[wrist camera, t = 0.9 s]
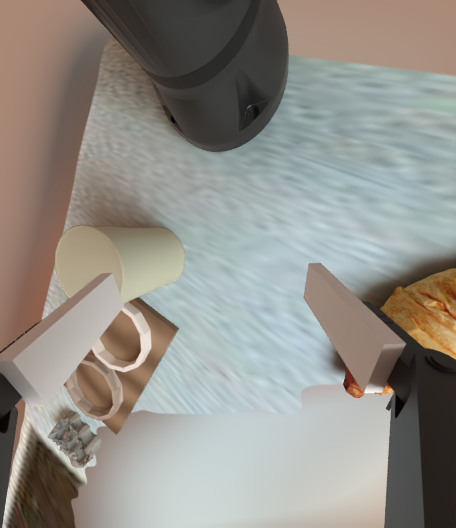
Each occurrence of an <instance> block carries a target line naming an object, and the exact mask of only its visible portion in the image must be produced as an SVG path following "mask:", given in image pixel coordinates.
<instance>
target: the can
mask: <svg viewBox="0 0 456 528" xmlns="http://www.w3.org/2000/svg"><path fill="white" fill-rule="evenodd" d="M184 266H185V253H184V249H183V246H182V244H181V242H180V240H179V239H178V238H177V236H176V235H175V234H173V233H172V232H171V231H169V230H167V229H165V228H161V227H152V228H131V227H103V226H89V225H77V226H74V227H72V228H70V229H68V230H67V231H66V232H65V233H64V234H63V235H62V236H61V238H60V240H59V242H58V244H57V248H56V253H55V268H56V273H57V277H58V280H59V283H60V285H61V287H62V289H63V291H64V292H65V294H66V295H67V297H68V298H69V299H70V298H71V297H72V296H74V295H75V294H76V293H77V292H79V291H80V290H81V289H82V288H84V287H85V286H86V285H87V284H89V283H90V282H91V281H92V280H94V279H95V278H96V277H97V276H99V275H100V274H101V273H113V275H114V278H115V281H116V284H117V287H118V290H119V292H120V295H121V298H122V301H123V304H124V303H126V302H128V301H130V300H133V299H135V298H137V297H139V296H141V295H144V294H146V293H148V292H150V291H153V290H155V289H157V288H160V287H162V286H165V285H169V284H171V283H173V282H175V281H176V280H177V279H178V278H179V277H180V275H181V274H182V272H183V269H184Z"/></svg>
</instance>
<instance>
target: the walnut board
mask: <svg viewBox="0 0 456 528" xmlns="http://www.w3.org/2000/svg"><path fill="white" fill-rule="evenodd" d="M128 302H129V303H131V304H132V305H133V306H135V307H136V308H137V309H138V310H140V311H141V313H142V315H143V316H144V318H145V320H146V322H147V324H148V326H149V328H150V331H151V350H150V352H149V354H148V355H147V357H146V359H145V361H144V362H143V363H142V364H141V365H140V366H139V367H137V368H135V369H132V370H129V371H127V372H121V371H118V370H114V369H111V368H108V367H107V366H106V365H105V364H104V363H103V362H102V361H100V360H99V359H98V358H97V357H96V356H95V354H94V352H93V351H92V349H91V350H90V351H89V352H88V354H87V355H86V356H85V358H84V359H83V360H82V361H81V363H80V364H79V365H78V367H77V368H76V369H75V370H74V372H73V373H72V374H71V376H70V377H69V378H68V380H67V381H66V382H65V383H64V386H65V387H66V388H67V391H68V393H69V394H70V396H71V398H72V400H73V402H74V404H75V405H76V406H77V407H78V408H79V409H80V410H81V411H82V412H83V413H84V414H85V415H86V416H88V417H91V418H94V419H96V420H99V421H102V422H103V423H104V424H106V425H107V426H108V427H109V428H110V429H111V430H112V431H113V432H114V433H115V434H117V433H118V432H119V431H120V430H121V428H122V426H123V425H124V423H125V421H126V420H127V418H128V416H129V414H130V413H131V411H132V409H133V407H134V406H135V404H136V402H137V400H138V399H139V397H140V395H141V394H142V392H143V390H144V388H145V387H146V385H147V383H148V381H149V380H150V378H151V376H152V374H153V373H154V371H155V369H156V367H157V366H158V364H159V362H160V361H161V359H162V357H163V355H164V354H165V352H166V350H167V348H168V347H169V345H170V343H171V341H172V340H173V338H174V336H175V335H176V333H177V331H178V329H179V328H177V327H176V326H175V325H173V324H172V323H171V322H170V321H168V320H167V319H166V318H164V317H163V316H162V315H160V314H159V313H158V312H157V311H155V310H154V309H153V308H151V307H150V306H149V305H147V304H146V303H145V302H144V301H142V300H141V299H140V298H138V297H137V298H135V299H133V300H130V301H128ZM100 340H101V342H102V344H103V346H104V348H105V349H106V350H107V351H108V352H109V353H111V354H112V355H113V356H114V357H115V358H116V359H119V360H123V361H127V362H132V361H134V360H137V358H138V356H139V354H140V352H141V343H140V334H139V332H138V330H137V328H136V326H135V324H134V322H133V321H132V319H131V318H130V317H129V316H128V315H127V314H125V313H124V312H123V311H122V310H121V311H120V312H119V313H118V315H117V316H116V317H115V319H114V320H113V321H112V323H111V324H110V325H109V326H108V328H107V329H106V330H105V332H104V333H103V334H102V335H101V337H100Z"/></svg>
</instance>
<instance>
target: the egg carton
mask: <svg viewBox="0 0 456 528" xmlns="http://www.w3.org/2000/svg"><path fill="white" fill-rule="evenodd" d="M68 423H70V425H69V427H70V428H68V427H67V426H68ZM77 436H78V437H77ZM48 438H50V439H52V440H53V442H56V444H57V446H58V445H60V450H61V451H63V452H64V453H65V455H66V456H68V457H69V459H70V461H71V464H72V466H73V467H77V468H82V467H84V466H85V465H86V464H87V463H88V462H89V461H90V460H91V459H92V458H93V457H92V456H93V455H94V454H95V453H96V451H97V450H98V449H99V448H100V447H101V445H102V443H101V437H100V436H99V435H93V434H92V433H91V431H90V426H89V425H88V424H84V423H83V422H82V421H81V419H80V415H79V414H78V413H74V412H73V411H72V412H71V413H70V414H68V415H67V416H66V417H65V418H64V419H63V418H62V419H61V420H60V421H59V422H58V424H57V425H56V426H55V427H54V429H53V430H52V432H51V433H50V434H49V436H48Z"/></svg>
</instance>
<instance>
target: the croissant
mask: <svg viewBox="0 0 456 528" xmlns="http://www.w3.org/2000/svg"><path fill="white" fill-rule="evenodd" d="M379 309H381V310H382V311H383V312H384V313H385V314H386V315H387V316H388V317H390V318H391V319H392V320H393V321H394V322H395V323H397V324H398V325H399V326H400V327H401V328H402V329H404V330H405V331H406V332H407V333H408V334H409V335H410V336H412V337H413V338H414V339H415V340H416V341H417V342H418V343H420V344H421V345H422V346H423V347H424V348H430V349H434V350H437V351H440V352H443V353H445V354H447V355H449V356H451V357H452V358H454V359H456V268H453V269H448V270H445V271H443V272H440V273H436V274H433V275H430V276H428V277H426V278H424V279H422V280H420V281H417V282H415V283H413V284H411V285H409V286H407V287H406V288H404V287H402V286H399V287H397V288H396V289H395V290H394V292H393V294H392V295H391V296H390V297H389V298H388V299H387V301H386V302H385V304H384V306H382V307H381V308H379ZM343 385H344V388H345V389H346V392H347V393H349V394H350V395H352V396H353V397H355V398H360V397H362V396H363V394H365V393H363V391H362V390H361V388H360V387H359V385H358V383H357V382H356V380H355V379H354V377H353V375H352V374H351V372H350V371H349V369H348V368H347V366H346V374H345V379H344V383H343ZM387 393H394V391H393V389H392V388H391V387H390V386H389V384H388V383H387V384H386V386H385V388H384V390H383V392H380V393H375V394H380V395H382V394H387Z"/></svg>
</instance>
